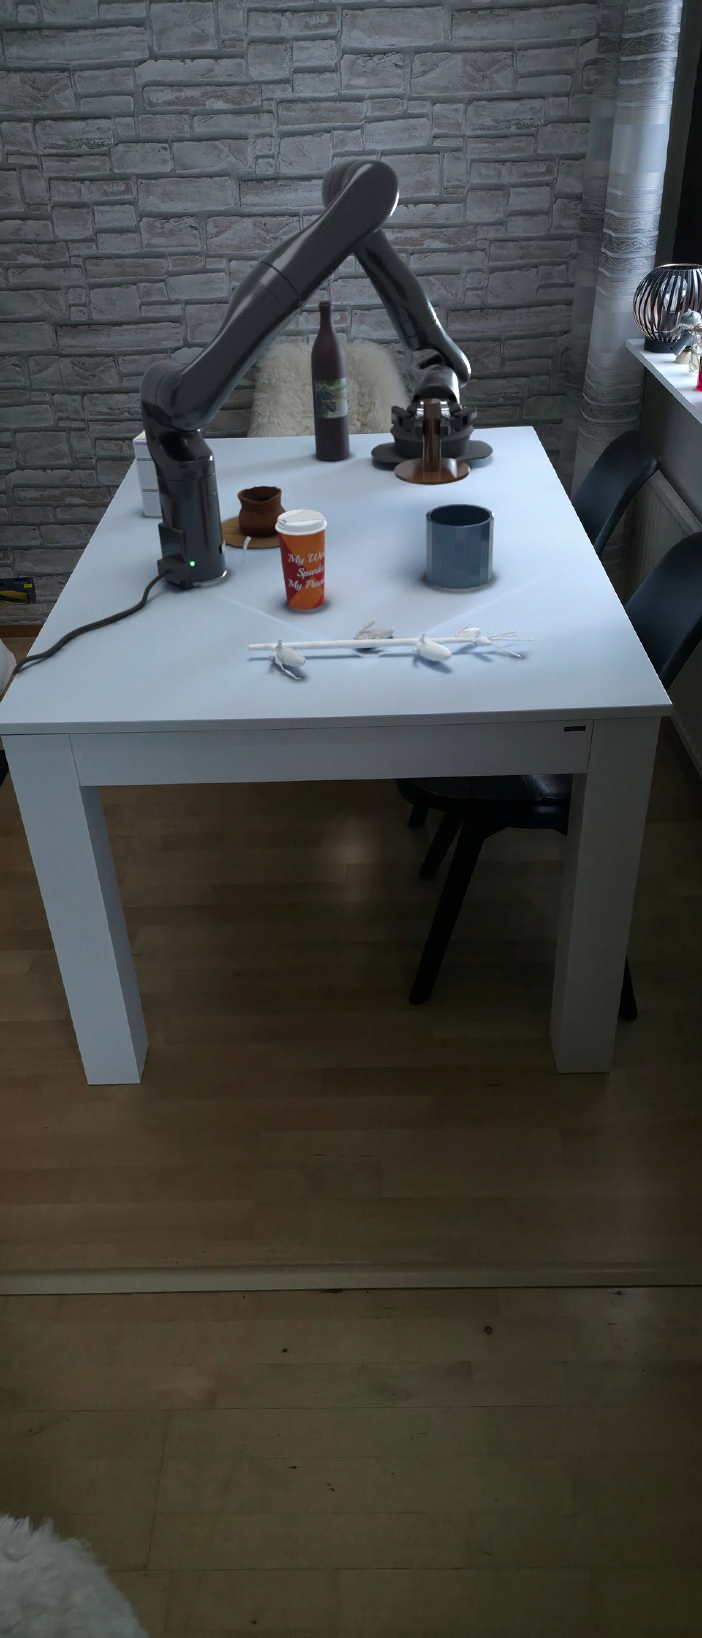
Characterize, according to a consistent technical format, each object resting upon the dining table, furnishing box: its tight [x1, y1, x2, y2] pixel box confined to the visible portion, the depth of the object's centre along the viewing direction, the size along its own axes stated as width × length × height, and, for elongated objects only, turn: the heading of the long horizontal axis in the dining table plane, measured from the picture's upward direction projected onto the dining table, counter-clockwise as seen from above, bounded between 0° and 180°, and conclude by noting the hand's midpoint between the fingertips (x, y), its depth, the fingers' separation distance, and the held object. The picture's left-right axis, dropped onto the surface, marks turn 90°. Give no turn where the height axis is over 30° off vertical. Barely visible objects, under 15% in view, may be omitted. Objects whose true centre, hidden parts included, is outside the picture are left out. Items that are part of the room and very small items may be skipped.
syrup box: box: [132, 429, 162, 518], centre depth 207 cm, size 6×6×14 cm
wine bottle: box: [310, 300, 351, 462], centre depth 227 cm, size 7×7×30 cm
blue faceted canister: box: [425, 503, 495, 590], centre depth 177 cm, size 10×10×10 cm
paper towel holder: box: [393, 399, 470, 486], centre depth 168 cm, size 11×11×11 cm
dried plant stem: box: [243, 537, 535, 680], centre depth 154 cm, size 12×19×40 cm
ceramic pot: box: [221, 485, 287, 549], centre depth 199 cm, size 18×18×7 cm
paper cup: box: [275, 509, 328, 611], centre depth 169 cm, size 8×8×14 cm
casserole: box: [370, 425, 494, 464], centre depth 228 cm, size 25×19×8 cm
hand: (431, 432), depth 164 cm, fingers closed on paper towel holder, 2 cm apart
